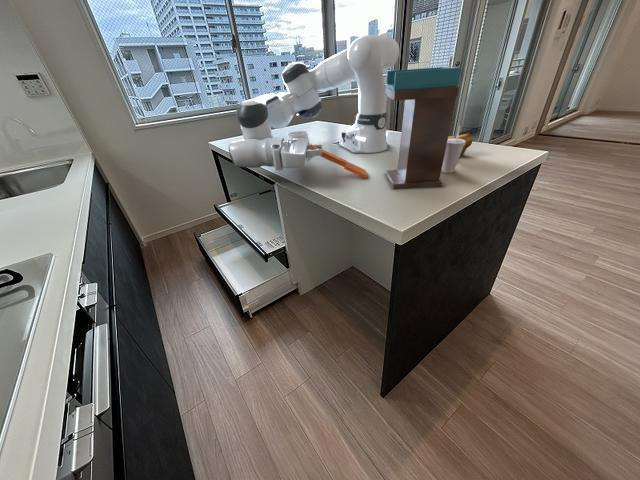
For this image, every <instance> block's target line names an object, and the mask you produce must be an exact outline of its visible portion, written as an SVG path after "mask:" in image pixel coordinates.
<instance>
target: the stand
mask: <svg viewBox="0 0 640 480" xmlns="http://www.w3.org/2000/svg"><path fill="white" fill-rule="evenodd" d="M459 88H460V86H457V87H444V88H429V89H415V90H400V91H394V90H391V89H389V88H387V87H385V95H386V96H387V98H389V99H391V100H393V101H395V102H396V101H404V107H403V116H402V125H401V133H400V134H401V135H400V143H399V154H398V163H397V169H389V170H388V169H387V170H385V176H386V178H387V180H388V182H389V184H390V186H391V188H392V189H393V190H403V189H420V188H421V189H422V188H423V189H424V188H441V187H442V185H443V181H442V180H441V176H442V175H441V174H442V165H443V160H444V155H445V150H446V146H447V141H448V137H450V130H451V126H452V121H453V115H454V111H455V105H456V100H457V97H458V94H459Z"/></svg>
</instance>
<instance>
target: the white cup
mask: <svg viewBox="0 0 640 480" xmlns="http://www.w3.org/2000/svg"><path fill="white" fill-rule="evenodd" d="M287 137H288V138H287V139H288V140H290V139H297V138H309V132H308V131H304V130H298V131H291V132H288V133H287ZM307 160H309V158H307Z"/></svg>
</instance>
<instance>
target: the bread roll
mask: <svg viewBox="0 0 640 480" xmlns="http://www.w3.org/2000/svg"><path fill="white" fill-rule="evenodd" d="M456 136H457V135H451V136H450V135H449V136H448V139H449V138H456ZM458 139H463V140H465V141H466V142H465V145H464V146H463V149H462V151H461V154H460V157H461V156H463V155H464V154H465V153H466V151H467V149H468V148H470V146H471V145H472V144H473V140H474V137H473V134H471V133H464V134H463V133H462V134H459V136H458Z"/></svg>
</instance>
